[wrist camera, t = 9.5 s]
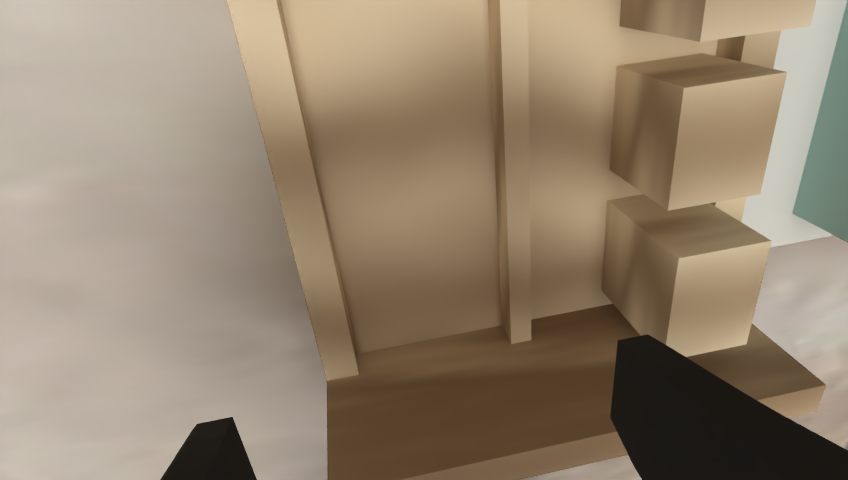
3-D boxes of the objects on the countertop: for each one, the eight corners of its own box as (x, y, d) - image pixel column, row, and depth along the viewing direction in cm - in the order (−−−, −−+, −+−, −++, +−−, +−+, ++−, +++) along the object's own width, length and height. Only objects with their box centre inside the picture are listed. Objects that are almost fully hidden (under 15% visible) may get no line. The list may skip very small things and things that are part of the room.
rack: (692, 300, 23) (816, 411, 17) (332, 372, 21) (335, 521, 16) (783, -230, 14) (1090, -361, 9) (193, -176, 13) (88, -293, 7)
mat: (871, 219, 23) (884, 225, 22) (723, 247, 22) (733, 254, 21) (996, -148, 16) (1018, -152, 16) (795, -125, 16) (811, -128, 15)
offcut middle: (687, 156, 19) (760, 194, 16) (609, 169, 19) (667, 210, 15) (702, 53, 17) (787, 72, 14) (616, 65, 17) (683, 88, 14)
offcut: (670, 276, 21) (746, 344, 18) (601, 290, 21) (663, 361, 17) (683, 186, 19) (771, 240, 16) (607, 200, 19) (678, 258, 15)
